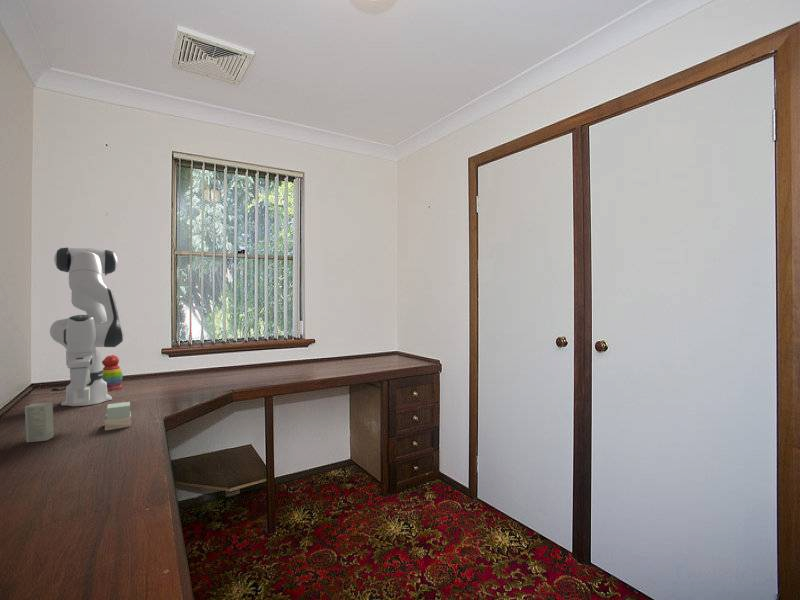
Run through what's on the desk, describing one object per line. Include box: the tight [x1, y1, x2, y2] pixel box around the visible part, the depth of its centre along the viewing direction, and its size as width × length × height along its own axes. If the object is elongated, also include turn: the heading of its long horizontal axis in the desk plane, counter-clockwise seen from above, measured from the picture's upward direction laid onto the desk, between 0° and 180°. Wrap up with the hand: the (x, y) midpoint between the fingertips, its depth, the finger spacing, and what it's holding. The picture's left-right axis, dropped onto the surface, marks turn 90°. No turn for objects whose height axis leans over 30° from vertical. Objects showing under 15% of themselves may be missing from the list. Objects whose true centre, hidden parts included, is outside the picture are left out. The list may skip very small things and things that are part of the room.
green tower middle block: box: [106, 401, 131, 419], centre depth 157 cm, size 7×7×4 cm
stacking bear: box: [101, 354, 124, 392], centre depth 219 cm, size 11×10×18 cm
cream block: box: [73, 387, 90, 403], centre depth 154 cm, size 4×4×4 cm
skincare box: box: [24, 401, 55, 443], centre depth 142 cm, size 6×4×12 cm
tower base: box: [104, 410, 132, 431], centre depth 157 cm, size 8×8×4 cm
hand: (81, 396), depth 154 cm, fingers closed on cream block, 4 cm apart
